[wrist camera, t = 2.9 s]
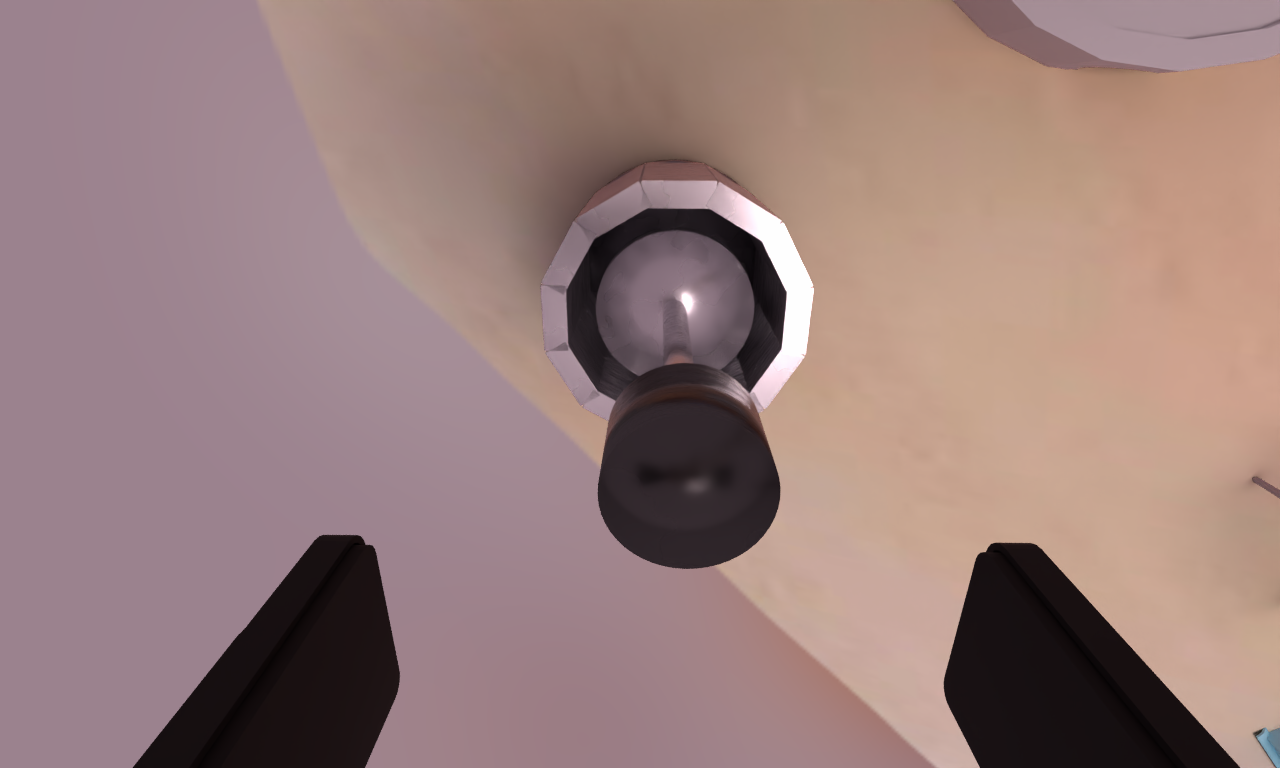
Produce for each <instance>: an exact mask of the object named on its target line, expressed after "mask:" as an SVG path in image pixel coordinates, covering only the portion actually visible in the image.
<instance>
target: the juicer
mask: <svg viewBox="0 0 1280 768" xmlns="http://www.w3.org/2000/svg"><path fill="white" fill-rule="evenodd" d="M1253 481H1254V482H1255V483H1256V484H1258V485H1259V486H1261V487H1263V488H1264V489H1266V490H1267V491H1269V492H1270V493H1272V494H1274V495H1275V496H1277V497H1278V498H1280V490H1279V489H1277V488H1275V487H1273V486H1272V485H1270V484H1268V483H1267V482H1265V481H1263V480H1262V479H1260V478H1258V477H1254V478H1253Z"/></svg>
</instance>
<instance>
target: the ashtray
mask: <svg viewBox="0 0 1280 768" xmlns="http://www.w3.org/2000/svg"><path fill="white" fill-rule="evenodd" d="M953 1H954V2H955V3H956V4H957V5H958V6H959V8H960V9H961V10H962V11H963V12H964V13H965V14H966V15H967V16H968V17H969V18H970V19H971V20H972V21H973V22H974V23H975V24H976V25H977V26H978V27H979V28H980V29H981V30H982V31H983V32H984V33H985V34H986V35H987V36H988V37H990V38H992V39H994V40H996V41H998V42H1000V43H1002V44H1004V45H1006V46H1008V47H1010V48H1012V49H1014V50H1015V51H1017V52H1019V53H1021V54H1023V55H1025V56H1027V57H1029V58H1031V59H1033V60H1035V61H1037V62H1039V63H1041V64H1043V65H1045V66H1047V67H1054V68H1061V69H1079V68H1081V67H1108V68H1122V69H1133V70H1141V71H1150V72H1156V73H1165V72H1178V71H1186V70H1193V69H1200V68H1207V67H1214V66H1221V65H1228V64H1235V63H1242V62H1249V61H1256V60H1264V59H1267V58H1269V57H1272V56H1275V55H1277V54H1280V0H953Z"/></svg>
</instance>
